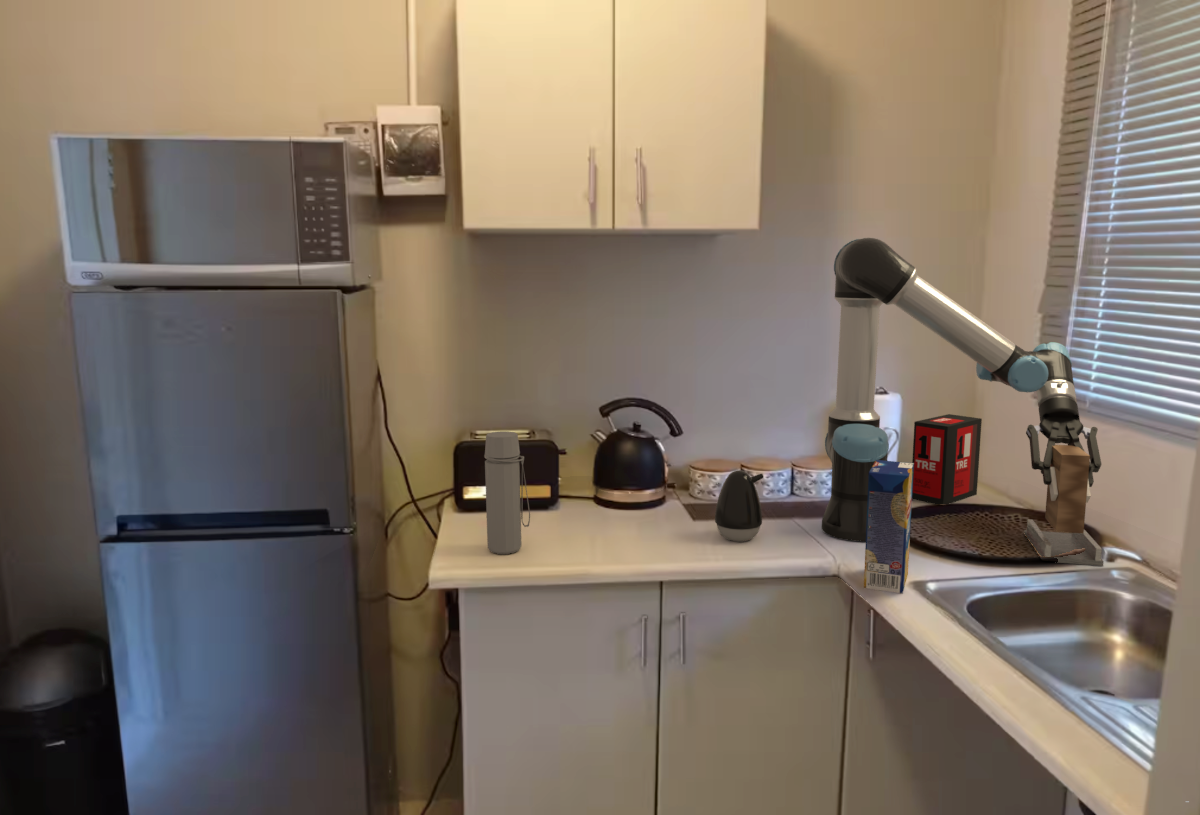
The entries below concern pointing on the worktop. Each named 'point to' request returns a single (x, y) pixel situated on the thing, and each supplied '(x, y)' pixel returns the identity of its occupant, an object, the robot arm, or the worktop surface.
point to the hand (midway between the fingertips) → (1070, 498)
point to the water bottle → (503, 492)
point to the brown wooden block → (1068, 489)
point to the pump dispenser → (739, 507)
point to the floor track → (1064, 545)
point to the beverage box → (888, 525)
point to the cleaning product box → (946, 458)
